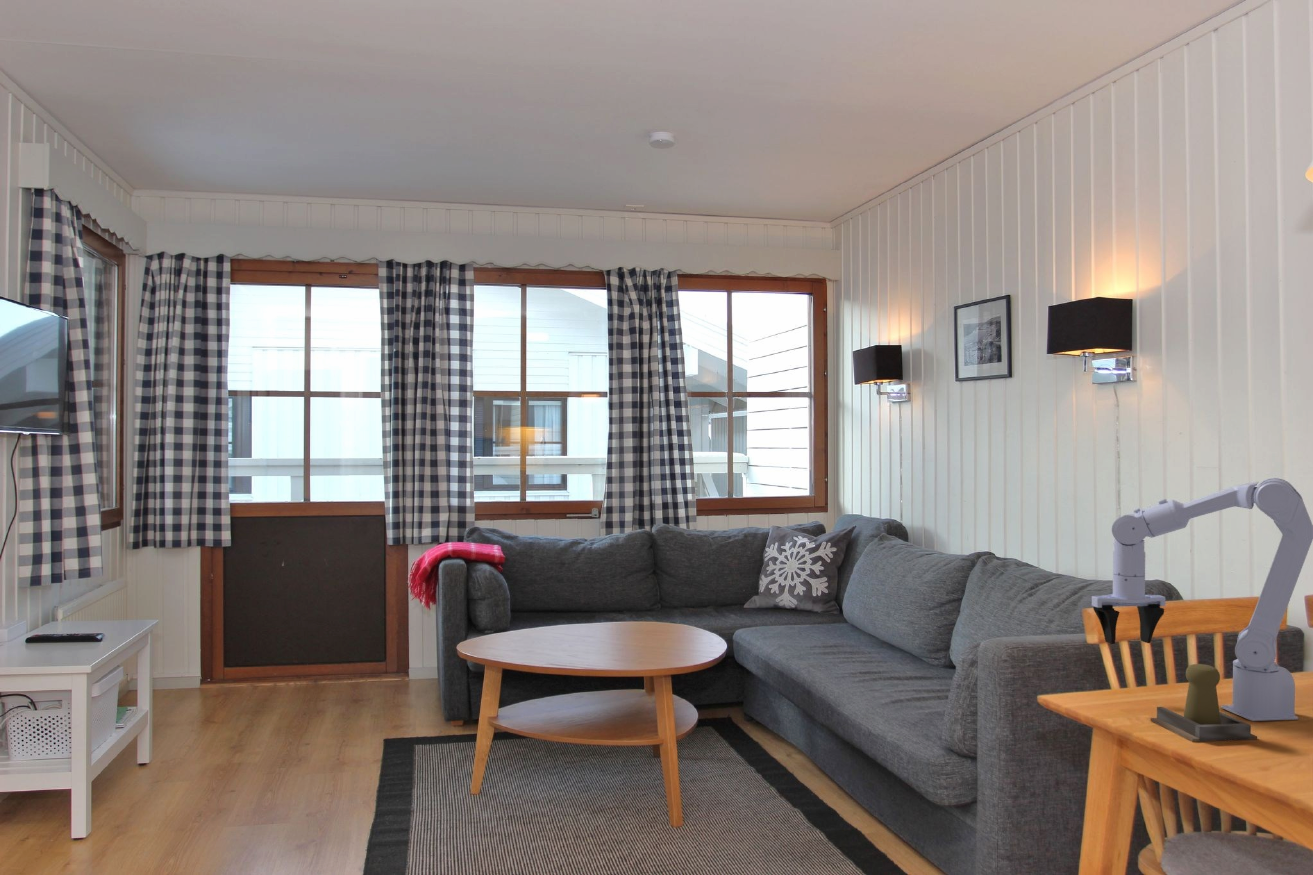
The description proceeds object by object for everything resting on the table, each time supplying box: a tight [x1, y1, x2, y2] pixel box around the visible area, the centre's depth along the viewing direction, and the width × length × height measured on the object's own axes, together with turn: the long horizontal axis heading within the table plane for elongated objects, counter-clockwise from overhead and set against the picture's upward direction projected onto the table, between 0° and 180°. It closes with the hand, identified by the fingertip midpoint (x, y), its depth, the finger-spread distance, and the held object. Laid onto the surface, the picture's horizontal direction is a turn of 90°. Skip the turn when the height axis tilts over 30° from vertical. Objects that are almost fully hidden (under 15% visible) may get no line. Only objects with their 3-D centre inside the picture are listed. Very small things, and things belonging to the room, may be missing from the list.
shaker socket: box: [1149, 706, 1258, 743], centre depth 161 cm, size 12×11×2 cm
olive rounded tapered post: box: [1183, 663, 1221, 725], centre depth 161 cm, size 6×6×11 cm
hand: (1127, 642), depth 182 cm, fingers open, 7 cm apart
